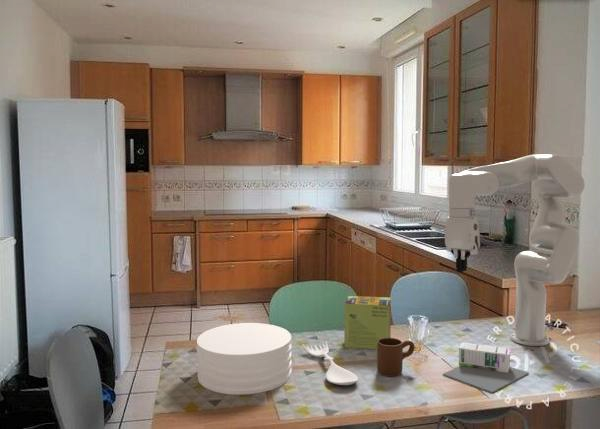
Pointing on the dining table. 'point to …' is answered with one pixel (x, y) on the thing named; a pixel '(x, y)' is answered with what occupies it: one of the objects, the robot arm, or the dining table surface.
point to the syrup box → (484, 357)
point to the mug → (392, 355)
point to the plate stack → (244, 358)
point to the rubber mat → (485, 377)
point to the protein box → (367, 321)
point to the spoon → (332, 366)
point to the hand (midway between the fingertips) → (461, 270)
